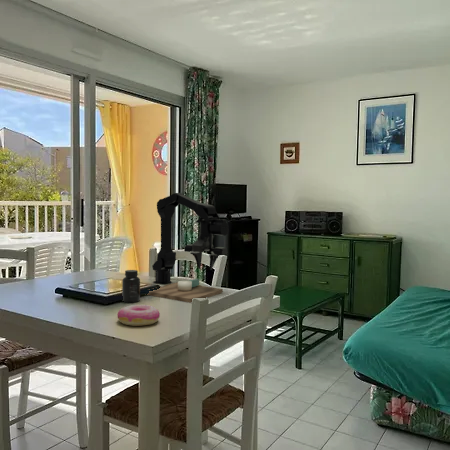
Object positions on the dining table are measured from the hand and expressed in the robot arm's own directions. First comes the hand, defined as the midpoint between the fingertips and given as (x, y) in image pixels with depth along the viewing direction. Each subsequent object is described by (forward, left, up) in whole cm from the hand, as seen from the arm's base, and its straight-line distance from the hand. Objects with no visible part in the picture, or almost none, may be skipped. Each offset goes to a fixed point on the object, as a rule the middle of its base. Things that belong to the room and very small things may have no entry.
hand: (204, 269), depth 198 cm
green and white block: (-5, -5, -8) cm, 11 cm away
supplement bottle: (-14, -32, -10) cm, 36 cm away
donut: (+7, -52, -10) cm, 54 cm away
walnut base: (-5, -8, -10) cm, 14 cm away
